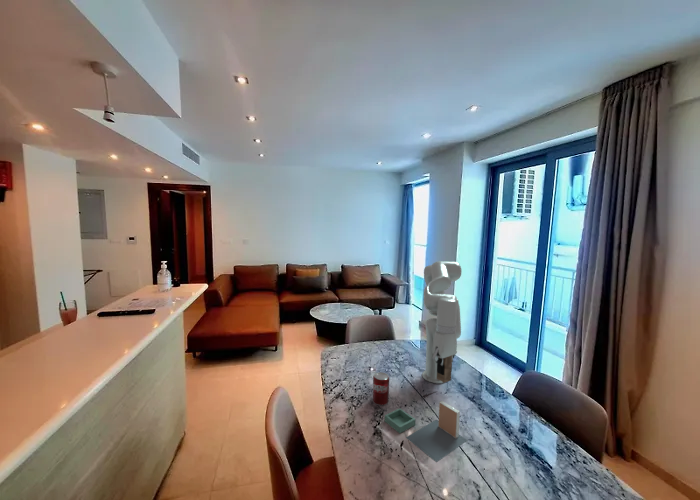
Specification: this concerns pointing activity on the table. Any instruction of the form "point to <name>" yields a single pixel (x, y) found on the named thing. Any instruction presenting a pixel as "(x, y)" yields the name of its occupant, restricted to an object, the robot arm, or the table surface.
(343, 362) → the table surface
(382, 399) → the soda can
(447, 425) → the tile
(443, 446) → the mat
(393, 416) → the holder
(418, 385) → the table surface
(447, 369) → the brown wooden block
